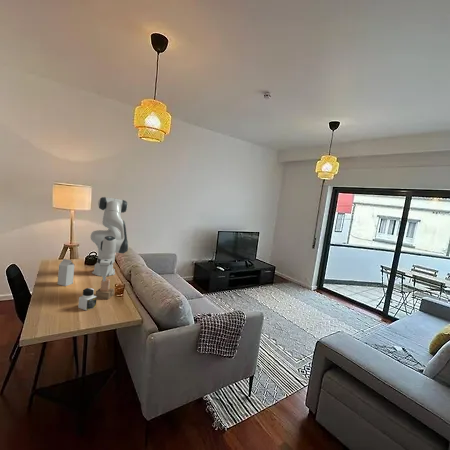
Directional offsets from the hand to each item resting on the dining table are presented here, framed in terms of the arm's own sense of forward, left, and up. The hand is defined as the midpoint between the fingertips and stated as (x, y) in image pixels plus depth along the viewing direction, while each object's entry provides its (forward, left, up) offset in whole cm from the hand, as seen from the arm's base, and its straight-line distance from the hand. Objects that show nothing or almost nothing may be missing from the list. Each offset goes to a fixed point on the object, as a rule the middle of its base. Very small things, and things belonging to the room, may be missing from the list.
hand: (105, 278), depth 181 cm
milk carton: (-20, -32, -13) cm, 40 cm away
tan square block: (0, 0, -13) cm, 13 cm away
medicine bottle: (+19, -6, -13) cm, 24 cm away
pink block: (0, 0, -8) cm, 8 cm away
